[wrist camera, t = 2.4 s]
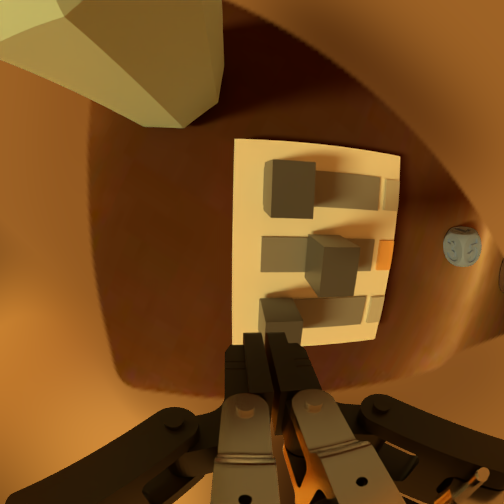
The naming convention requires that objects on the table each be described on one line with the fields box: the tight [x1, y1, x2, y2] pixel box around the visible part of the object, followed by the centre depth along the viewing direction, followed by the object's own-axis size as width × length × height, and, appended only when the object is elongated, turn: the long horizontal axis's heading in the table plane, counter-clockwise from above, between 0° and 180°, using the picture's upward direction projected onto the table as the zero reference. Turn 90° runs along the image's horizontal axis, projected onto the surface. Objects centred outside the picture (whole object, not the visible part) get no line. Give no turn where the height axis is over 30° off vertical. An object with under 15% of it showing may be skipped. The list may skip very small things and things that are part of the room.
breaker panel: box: [232, 139, 400, 346], centre depth 26 cm, size 16×20×3 cm
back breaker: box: [258, 298, 303, 347], centre depth 24 cm, size 3×4×4 cm
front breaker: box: [263, 159, 316, 219], centre depth 21 cm, size 3×4×4 cm
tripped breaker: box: [304, 234, 361, 298], centre depth 23 cm, size 3×4×4 cm
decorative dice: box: [443, 227, 481, 267], centre depth 27 cm, size 4×4×4 cm
